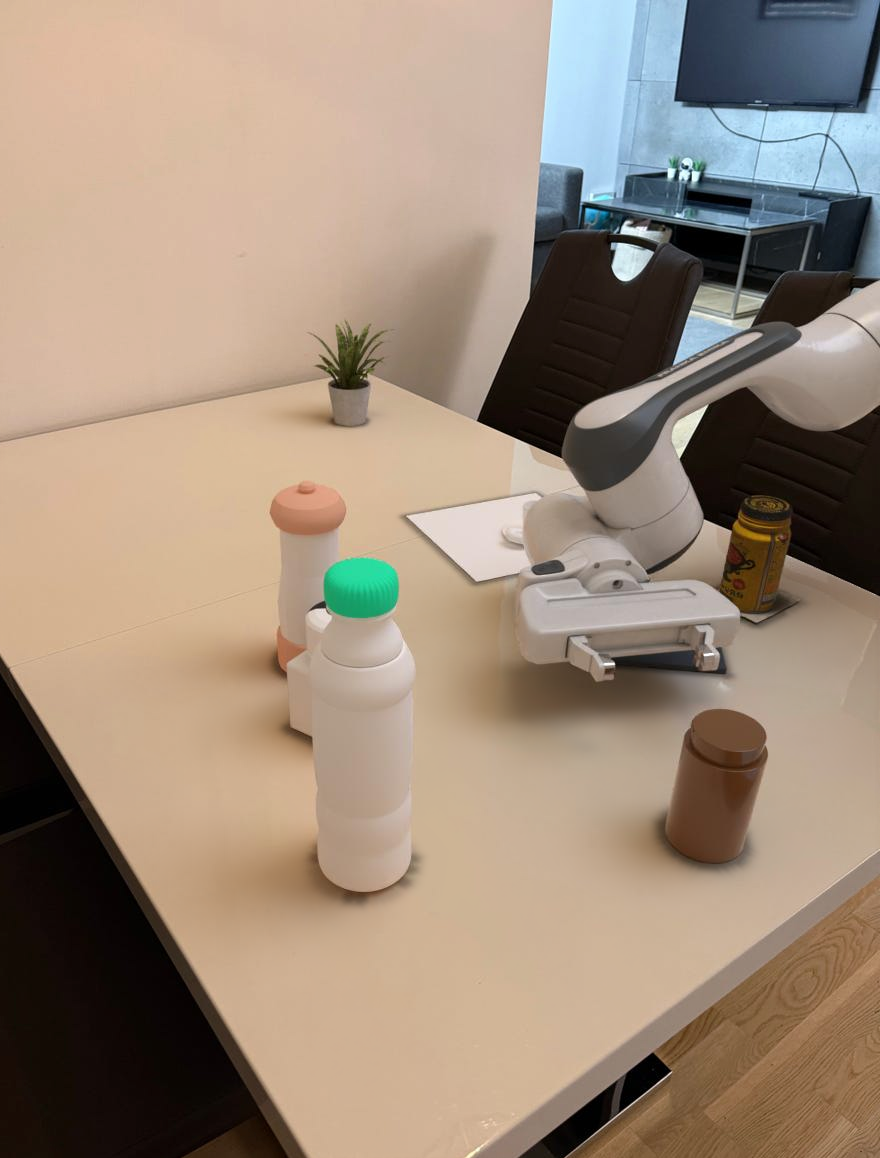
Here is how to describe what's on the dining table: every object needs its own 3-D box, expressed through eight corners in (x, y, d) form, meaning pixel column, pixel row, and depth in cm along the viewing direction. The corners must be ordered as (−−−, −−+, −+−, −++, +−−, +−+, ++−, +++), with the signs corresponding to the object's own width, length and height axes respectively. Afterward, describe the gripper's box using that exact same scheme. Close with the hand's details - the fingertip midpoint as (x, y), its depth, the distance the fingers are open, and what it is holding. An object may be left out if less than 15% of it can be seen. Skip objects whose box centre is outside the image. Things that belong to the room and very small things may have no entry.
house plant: (417, 422, 158) (419, 321, 149) (357, 442, 149) (356, 337, 140) (357, 402, 166) (356, 306, 157) (297, 421, 157) (293, 320, 149)
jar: (736, 813, 77) (763, 708, 71) (749, 867, 72) (780, 758, 66) (661, 806, 78) (682, 702, 72) (669, 859, 73) (693, 751, 67)
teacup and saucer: (516, 554, 116) (518, 524, 114) (485, 528, 122) (487, 499, 120) (576, 542, 119) (580, 512, 117) (543, 517, 126) (546, 489, 123)
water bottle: (402, 903, 69) (407, 602, 55) (307, 889, 70) (290, 591, 56) (417, 835, 74) (425, 549, 61) (330, 824, 75) (319, 540, 62)
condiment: (701, 598, 108) (721, 500, 101) (746, 577, 112) (768, 482, 106) (756, 624, 103) (780, 523, 96) (801, 602, 107) (827, 503, 101)
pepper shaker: (346, 637, 99) (342, 465, 89) (355, 676, 93) (352, 495, 83) (276, 643, 98) (264, 469, 88) (281, 682, 92) (268, 500, 82)
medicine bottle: (337, 691, 91) (334, 581, 85) (398, 717, 88) (399, 605, 81) (288, 728, 86) (281, 614, 80) (350, 757, 83) (347, 640, 76)
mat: (708, 605, 106) (708, 600, 106) (725, 673, 94) (727, 668, 94) (581, 595, 108) (582, 590, 108) (583, 661, 96) (584, 656, 96)
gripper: (695, 610, 95) (764, 688, 84) (498, 627, 92) (542, 710, 80) (707, 554, 92) (780, 627, 80) (503, 570, 89) (549, 648, 77)
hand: (659, 669), depth 80 cm, fingers open, 8 cm apart
